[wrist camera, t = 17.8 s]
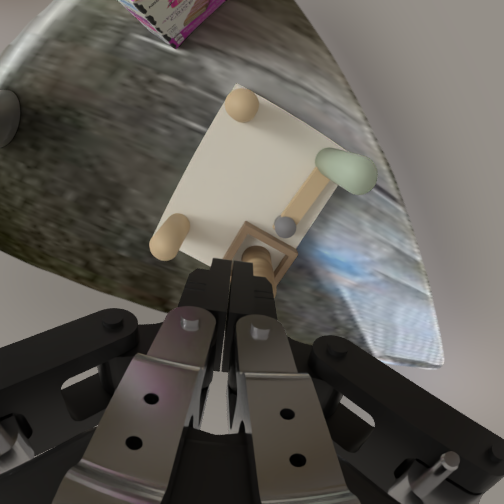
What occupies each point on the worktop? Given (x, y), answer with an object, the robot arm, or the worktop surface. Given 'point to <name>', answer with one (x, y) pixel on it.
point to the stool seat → (243, 185)
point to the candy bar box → (171, 16)
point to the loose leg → (260, 263)
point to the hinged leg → (327, 168)
